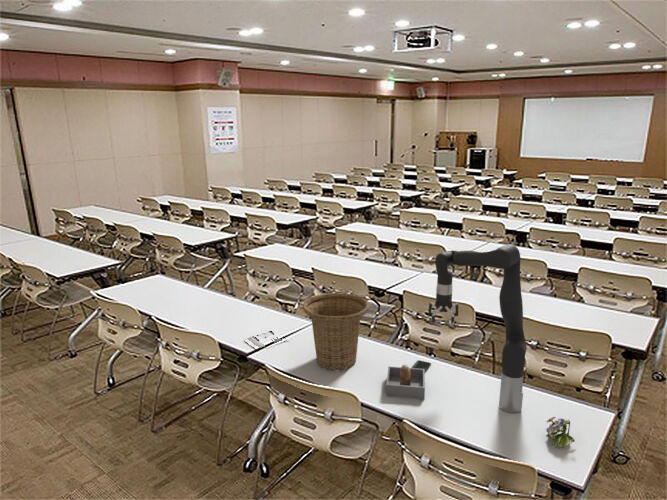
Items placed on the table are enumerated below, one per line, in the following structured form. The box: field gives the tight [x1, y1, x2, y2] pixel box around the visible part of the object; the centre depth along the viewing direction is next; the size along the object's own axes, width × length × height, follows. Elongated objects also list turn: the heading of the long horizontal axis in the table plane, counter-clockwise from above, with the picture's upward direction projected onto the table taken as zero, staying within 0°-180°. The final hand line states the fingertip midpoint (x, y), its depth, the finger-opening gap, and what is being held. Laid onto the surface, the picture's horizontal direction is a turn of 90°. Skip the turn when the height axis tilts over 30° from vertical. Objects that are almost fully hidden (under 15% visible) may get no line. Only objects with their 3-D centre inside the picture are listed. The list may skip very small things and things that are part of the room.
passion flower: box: [545, 416, 576, 449], centre depth 196 cm, size 11×11×12 cm
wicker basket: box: [302, 292, 370, 371], centre depth 261 cm, size 35×35×33 cm
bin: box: [385, 365, 426, 400], centre depth 237 cm, size 18×18×6 cm
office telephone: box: [246, 336, 288, 348], centre depth 292 cm, size 23×3×20 cm
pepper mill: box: [400, 364, 411, 386], centre depth 236 cm, size 5×5×10 cm
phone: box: [411, 360, 432, 374], centre depth 256 cm, size 8×1×15 cm
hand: (442, 322), depth 239 cm, fingers open, 8 cm apart
